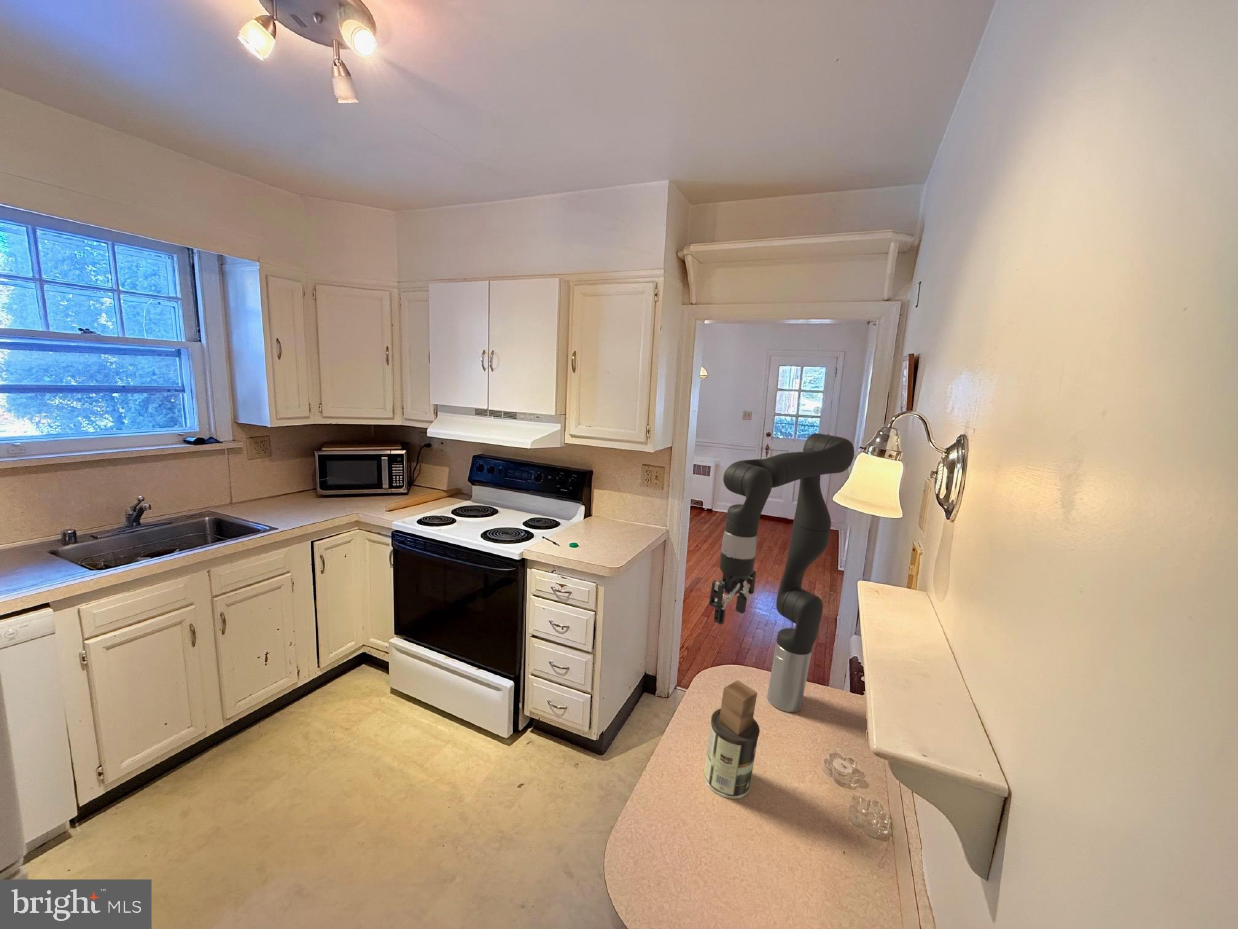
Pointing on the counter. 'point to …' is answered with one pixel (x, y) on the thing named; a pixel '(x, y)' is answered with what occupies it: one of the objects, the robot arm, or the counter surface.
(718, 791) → the coffee can
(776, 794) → the counter surface
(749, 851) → the counter surface
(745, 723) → the walnut block
